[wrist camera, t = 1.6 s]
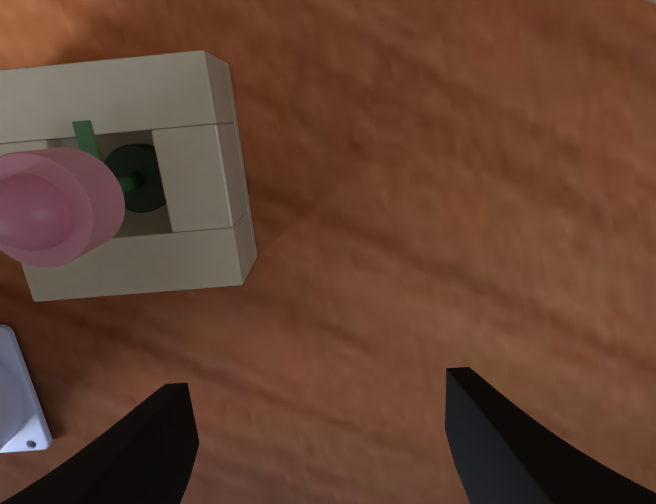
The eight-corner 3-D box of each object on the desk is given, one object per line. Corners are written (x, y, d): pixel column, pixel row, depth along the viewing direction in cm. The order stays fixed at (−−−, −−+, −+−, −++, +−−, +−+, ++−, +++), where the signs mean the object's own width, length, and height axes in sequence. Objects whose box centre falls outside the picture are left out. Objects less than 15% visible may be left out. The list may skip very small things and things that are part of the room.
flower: (118, 215, 20) (-36, 286, 11) (95, 123, 18) (-97, 128, 10) (188, 209, 20) (85, 276, 11) (170, 116, 18) (39, 115, 10)
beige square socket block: (83, 270, 21) (33, 302, 18) (29, 82, 18) (-44, 73, 15) (257, 256, 21) (242, 285, 17) (229, 63, 18) (204, 49, 15)
